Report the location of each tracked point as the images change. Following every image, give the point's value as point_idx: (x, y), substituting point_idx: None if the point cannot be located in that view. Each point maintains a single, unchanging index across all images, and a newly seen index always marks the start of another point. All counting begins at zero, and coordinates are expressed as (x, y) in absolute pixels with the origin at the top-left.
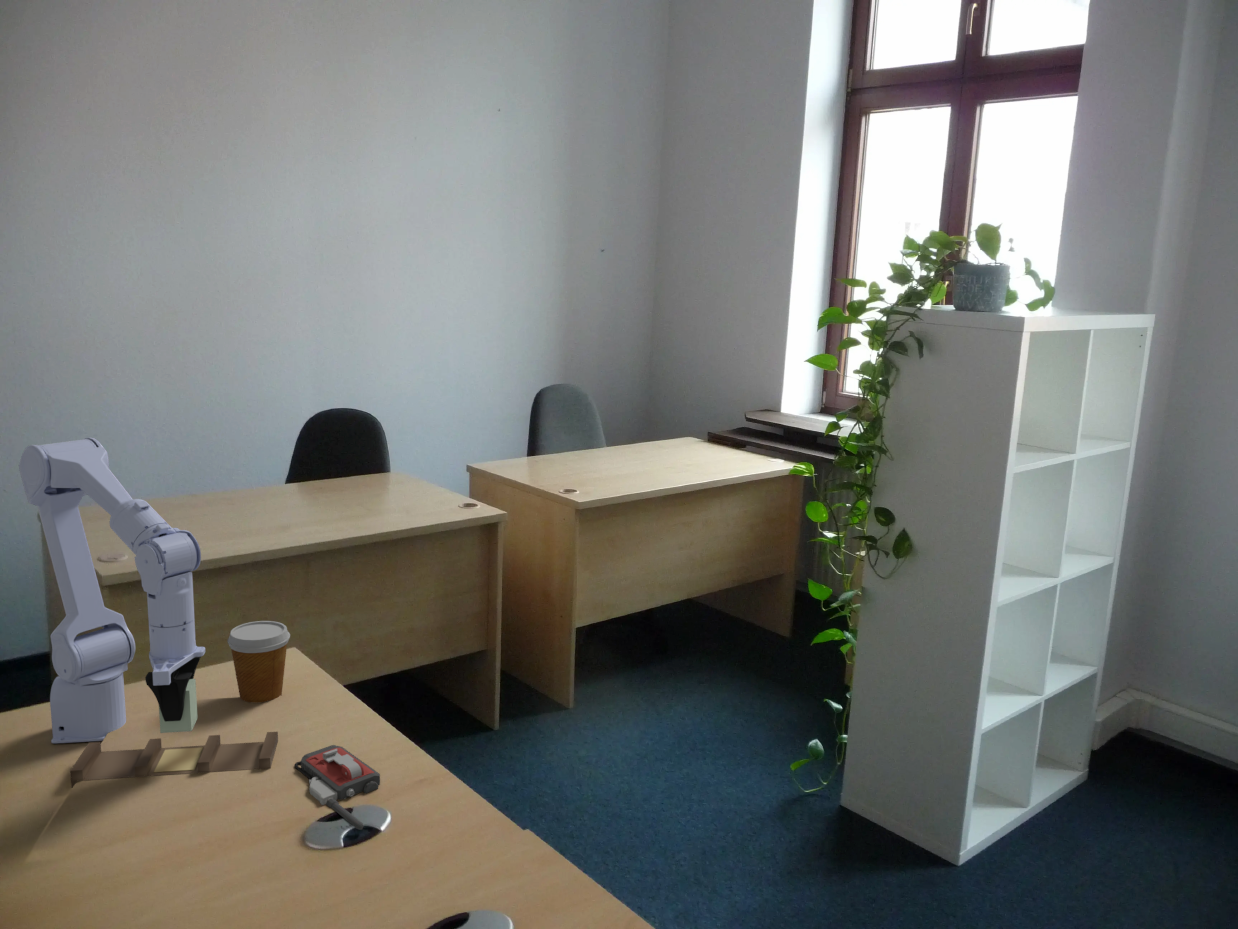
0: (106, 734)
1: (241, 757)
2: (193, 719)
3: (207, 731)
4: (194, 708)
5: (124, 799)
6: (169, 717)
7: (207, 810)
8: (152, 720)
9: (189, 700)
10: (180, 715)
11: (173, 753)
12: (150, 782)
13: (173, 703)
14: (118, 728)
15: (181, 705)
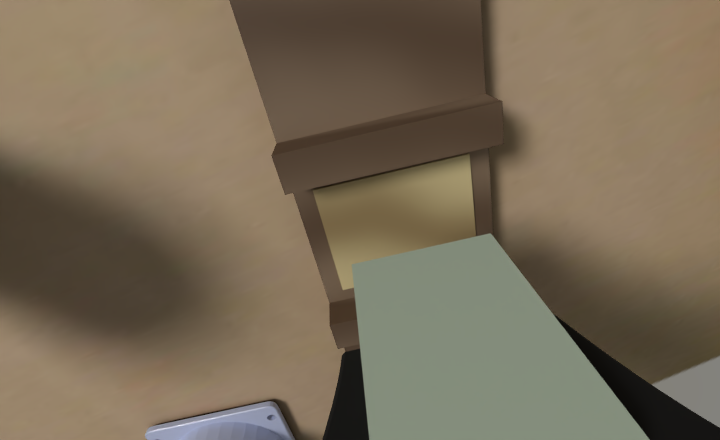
0: (271, 433)
1: (372, 8)
2: (445, 266)
3: (157, 236)
4: (422, 304)
5: (563, 267)
6: None
7: (690, 4)
8: (148, 388)
9: (590, 366)
10: (571, 328)
11: (364, 259)
12: None
13: None
14: (241, 428)
15: (633, 375)
